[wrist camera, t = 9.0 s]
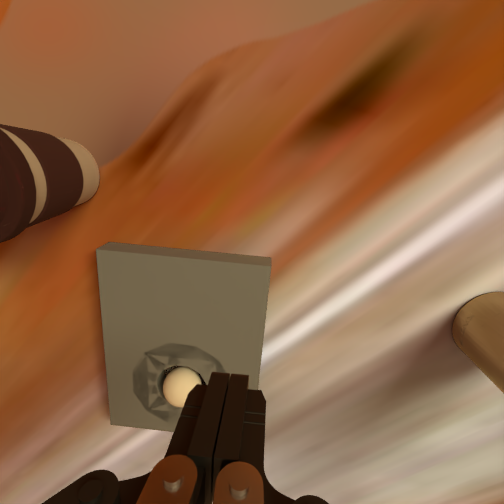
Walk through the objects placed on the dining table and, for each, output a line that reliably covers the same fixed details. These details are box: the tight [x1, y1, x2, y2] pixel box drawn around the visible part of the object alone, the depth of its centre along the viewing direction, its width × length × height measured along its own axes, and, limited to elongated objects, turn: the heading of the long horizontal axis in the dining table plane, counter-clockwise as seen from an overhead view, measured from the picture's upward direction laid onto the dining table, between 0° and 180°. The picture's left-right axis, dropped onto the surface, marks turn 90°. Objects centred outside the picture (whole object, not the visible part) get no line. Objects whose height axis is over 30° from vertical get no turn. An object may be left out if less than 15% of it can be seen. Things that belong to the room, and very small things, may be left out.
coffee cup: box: [0, 124, 100, 243], centre depth 28 cm, size 10×10×15 cm
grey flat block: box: [96, 242, 271, 432], centre depth 40 cm, size 20×26×3 cm
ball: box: [163, 366, 202, 407], centre depth 40 cm, size 5×5×5 cm
